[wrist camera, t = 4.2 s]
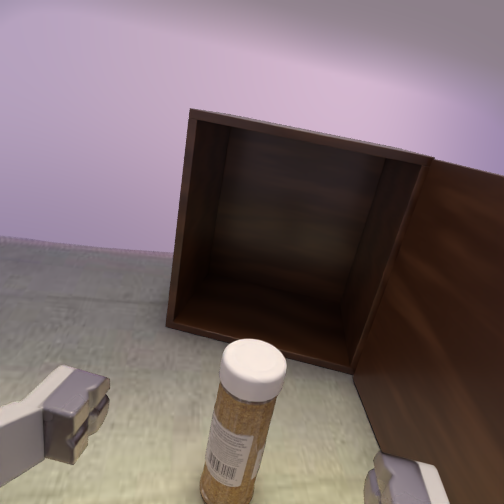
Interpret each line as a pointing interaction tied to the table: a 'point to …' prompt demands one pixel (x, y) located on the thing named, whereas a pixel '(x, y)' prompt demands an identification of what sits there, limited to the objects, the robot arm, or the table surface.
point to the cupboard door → (444, 337)
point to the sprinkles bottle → (241, 420)
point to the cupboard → (288, 235)
